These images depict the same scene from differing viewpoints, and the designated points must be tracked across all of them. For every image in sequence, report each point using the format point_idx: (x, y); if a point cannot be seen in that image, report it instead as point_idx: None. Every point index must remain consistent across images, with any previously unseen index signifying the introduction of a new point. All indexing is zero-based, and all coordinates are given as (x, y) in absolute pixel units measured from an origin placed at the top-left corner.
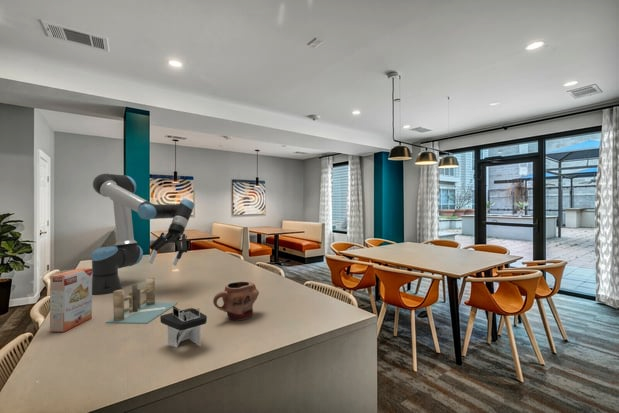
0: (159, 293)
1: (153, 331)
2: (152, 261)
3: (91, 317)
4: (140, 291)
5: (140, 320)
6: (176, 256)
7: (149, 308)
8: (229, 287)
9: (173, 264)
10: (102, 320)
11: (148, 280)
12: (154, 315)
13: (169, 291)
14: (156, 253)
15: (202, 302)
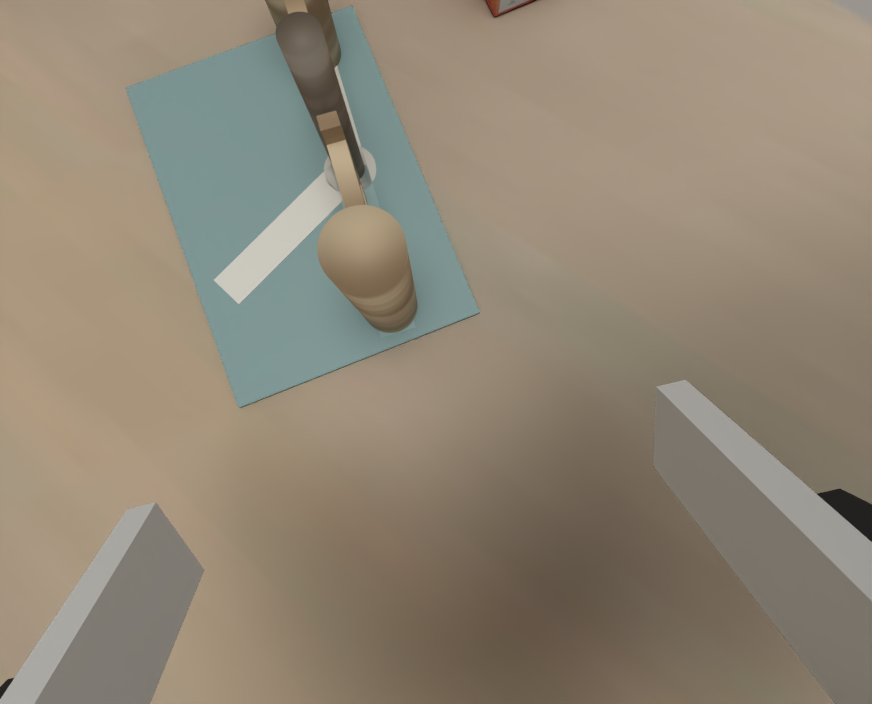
0: (583, 531)
1: (11, 41)
2: (674, 477)
3: (492, 9)
4: (325, 142)
5: (189, 93)
6: (22, 682)
7: None
8: None
9: (173, 534)
10: (407, 25)
11: (343, 213)
12: (180, 176)
13: (559, 609)
14: (828, 683)
15: (91, 504)
